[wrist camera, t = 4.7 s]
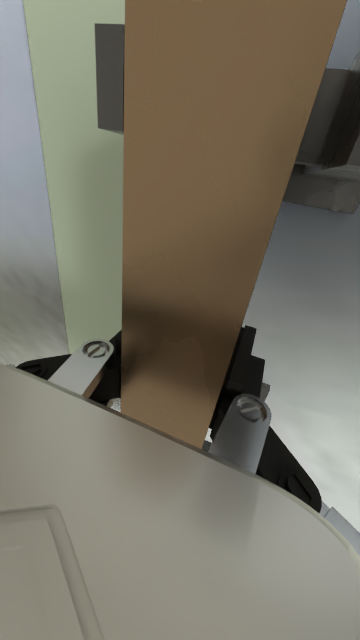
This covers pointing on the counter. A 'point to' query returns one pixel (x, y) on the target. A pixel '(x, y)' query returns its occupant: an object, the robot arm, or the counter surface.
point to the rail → (205, 184)
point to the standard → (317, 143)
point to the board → (79, 162)
